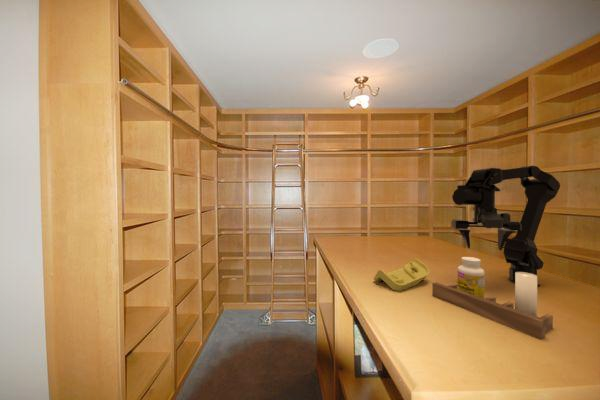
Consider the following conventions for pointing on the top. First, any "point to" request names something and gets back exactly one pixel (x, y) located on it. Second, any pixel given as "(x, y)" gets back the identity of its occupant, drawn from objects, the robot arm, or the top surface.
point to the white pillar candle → (526, 292)
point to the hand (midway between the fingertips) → (484, 249)
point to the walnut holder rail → (495, 310)
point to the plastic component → (404, 275)
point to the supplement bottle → (471, 277)
